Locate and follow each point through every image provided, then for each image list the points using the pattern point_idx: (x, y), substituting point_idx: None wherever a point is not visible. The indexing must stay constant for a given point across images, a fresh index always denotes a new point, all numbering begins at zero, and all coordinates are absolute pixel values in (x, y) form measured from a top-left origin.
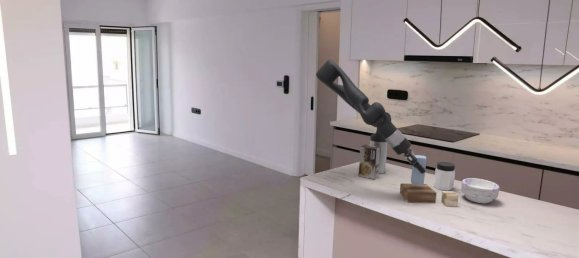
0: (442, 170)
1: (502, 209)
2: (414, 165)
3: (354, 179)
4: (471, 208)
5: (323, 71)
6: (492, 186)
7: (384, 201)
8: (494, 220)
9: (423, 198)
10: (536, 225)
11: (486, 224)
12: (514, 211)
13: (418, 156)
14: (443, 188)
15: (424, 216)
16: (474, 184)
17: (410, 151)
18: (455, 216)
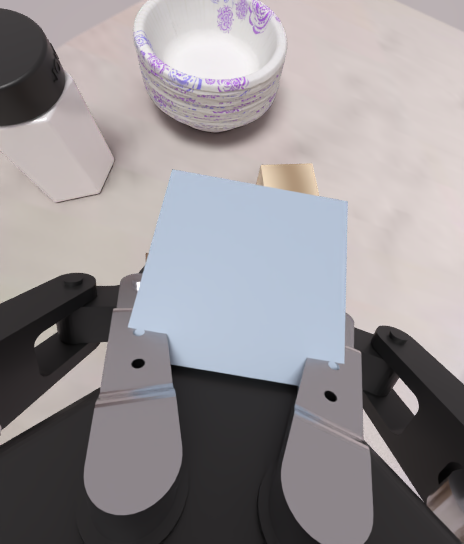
0: (46, 110)
1: (292, 74)
2: (393, 398)
3: None
4: (305, 155)
5: None
6: (204, 8)
7: None
8: (394, 132)
9: None
10: (393, 53)
11: (435, 166)
12: (301, 53)
13: (240, 293)
14: (103, 174)
15: (442, 353)
16: (159, 53)
17: (169, 508)
18: (400, 234)
